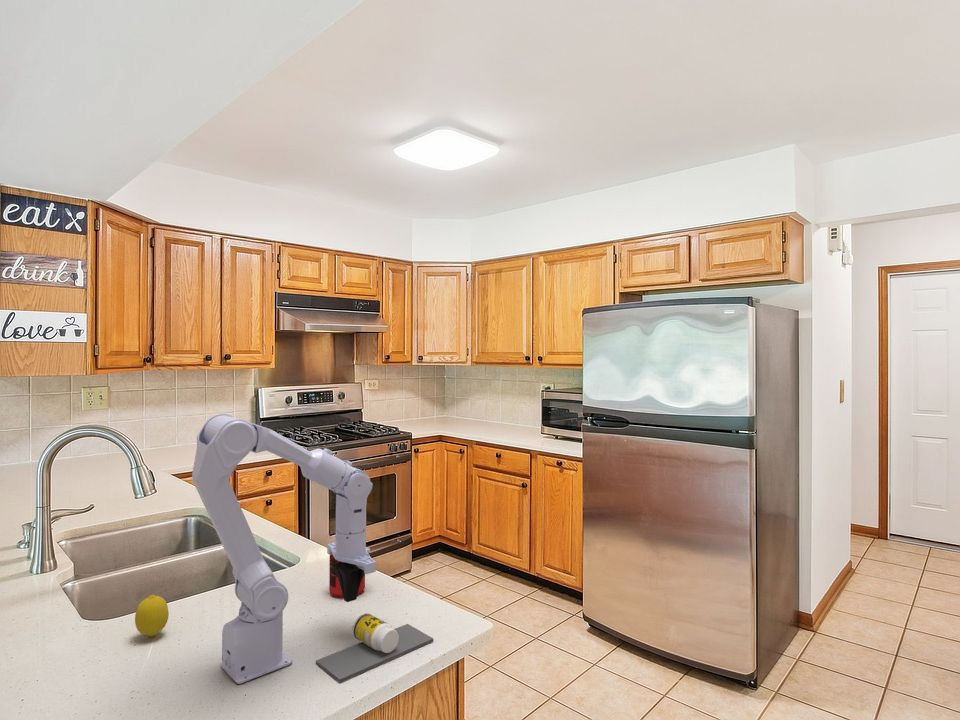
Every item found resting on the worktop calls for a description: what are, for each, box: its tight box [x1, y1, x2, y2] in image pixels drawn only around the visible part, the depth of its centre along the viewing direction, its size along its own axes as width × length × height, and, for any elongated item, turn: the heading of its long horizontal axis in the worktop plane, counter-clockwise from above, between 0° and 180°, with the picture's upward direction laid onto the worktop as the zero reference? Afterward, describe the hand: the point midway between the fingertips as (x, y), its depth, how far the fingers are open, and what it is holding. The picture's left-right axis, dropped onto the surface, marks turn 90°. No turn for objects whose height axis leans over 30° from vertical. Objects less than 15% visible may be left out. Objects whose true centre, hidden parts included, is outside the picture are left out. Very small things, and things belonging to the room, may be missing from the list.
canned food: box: [328, 540, 366, 599], centre depth 131 cm, size 8×8×11 cm
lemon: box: [134, 594, 169, 638], centre depth 110 cm, size 6×6×8 cm
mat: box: [315, 623, 434, 684], centre depth 105 cm, size 20×8×1 cm, turn 134°
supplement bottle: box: [352, 613, 399, 653], centre depth 106 cm, size 5×5×8 cm
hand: (350, 599), depth 112 cm, fingers closed
